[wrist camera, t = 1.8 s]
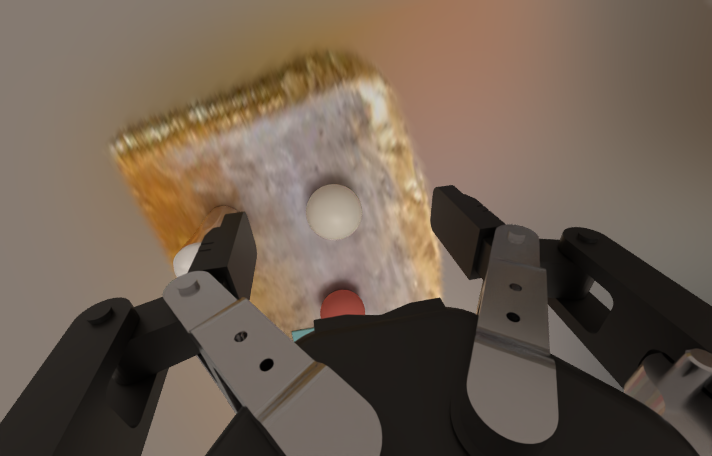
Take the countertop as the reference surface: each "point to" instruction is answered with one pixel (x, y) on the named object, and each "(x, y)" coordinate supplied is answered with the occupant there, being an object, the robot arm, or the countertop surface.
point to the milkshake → (199, 239)
